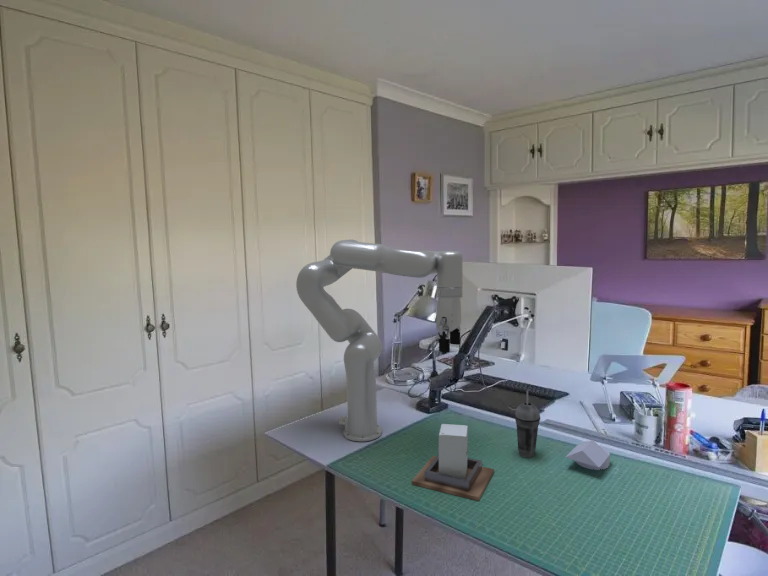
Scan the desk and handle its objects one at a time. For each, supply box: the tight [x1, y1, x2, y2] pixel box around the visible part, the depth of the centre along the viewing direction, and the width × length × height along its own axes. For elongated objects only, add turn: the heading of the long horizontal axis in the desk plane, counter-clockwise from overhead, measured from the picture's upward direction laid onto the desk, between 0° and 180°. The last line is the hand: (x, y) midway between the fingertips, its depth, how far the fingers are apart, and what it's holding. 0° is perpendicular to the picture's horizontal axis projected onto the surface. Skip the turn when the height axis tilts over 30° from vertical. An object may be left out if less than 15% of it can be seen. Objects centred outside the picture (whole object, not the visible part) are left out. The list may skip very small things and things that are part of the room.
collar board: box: [411, 453, 495, 502], centre depth 128 cm, size 18×15×4 cm
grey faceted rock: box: [565, 439, 611, 471], centre depth 134 cm, size 9×7×13 cm
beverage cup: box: [514, 389, 541, 459], centre depth 140 cm, size 7×7×20 cm
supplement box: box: [438, 423, 469, 479], centre depth 128 cm, size 7×7×13 cm
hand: (449, 347), depth 146 cm, fingers open, 9 cm apart
